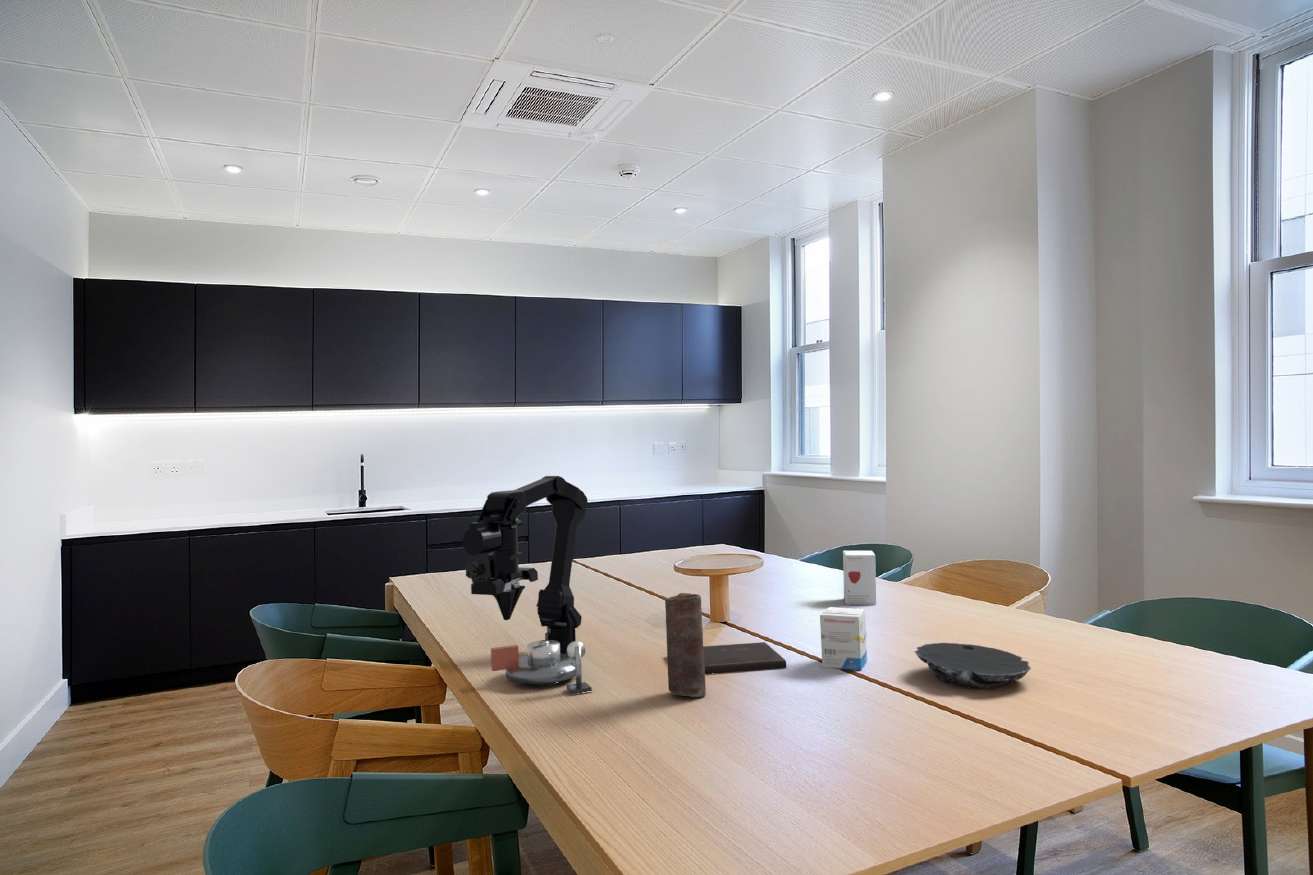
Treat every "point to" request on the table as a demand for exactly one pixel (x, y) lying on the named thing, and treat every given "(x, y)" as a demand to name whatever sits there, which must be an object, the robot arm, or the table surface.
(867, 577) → the supplement box
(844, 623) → the ink box
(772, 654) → the hardcover book
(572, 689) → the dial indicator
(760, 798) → the table surface
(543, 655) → the cover
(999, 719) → the table surface
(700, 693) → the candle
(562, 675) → the turntable
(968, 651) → the dark grey flat disc
